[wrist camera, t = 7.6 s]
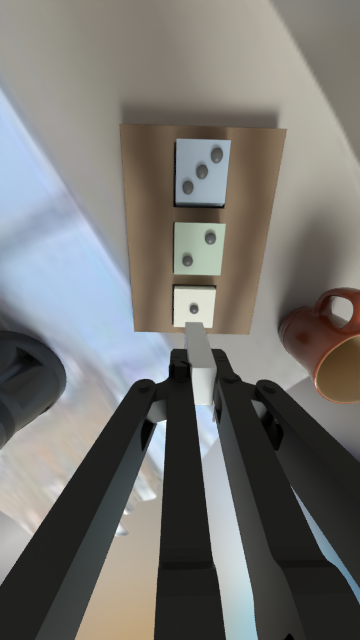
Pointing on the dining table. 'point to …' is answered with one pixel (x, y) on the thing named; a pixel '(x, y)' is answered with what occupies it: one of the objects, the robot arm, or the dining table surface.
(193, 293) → the tile one
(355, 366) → the mug
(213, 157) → the tile three
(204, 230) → the tile two
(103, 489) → the robot arm
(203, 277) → the board
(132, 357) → the dining table surface
